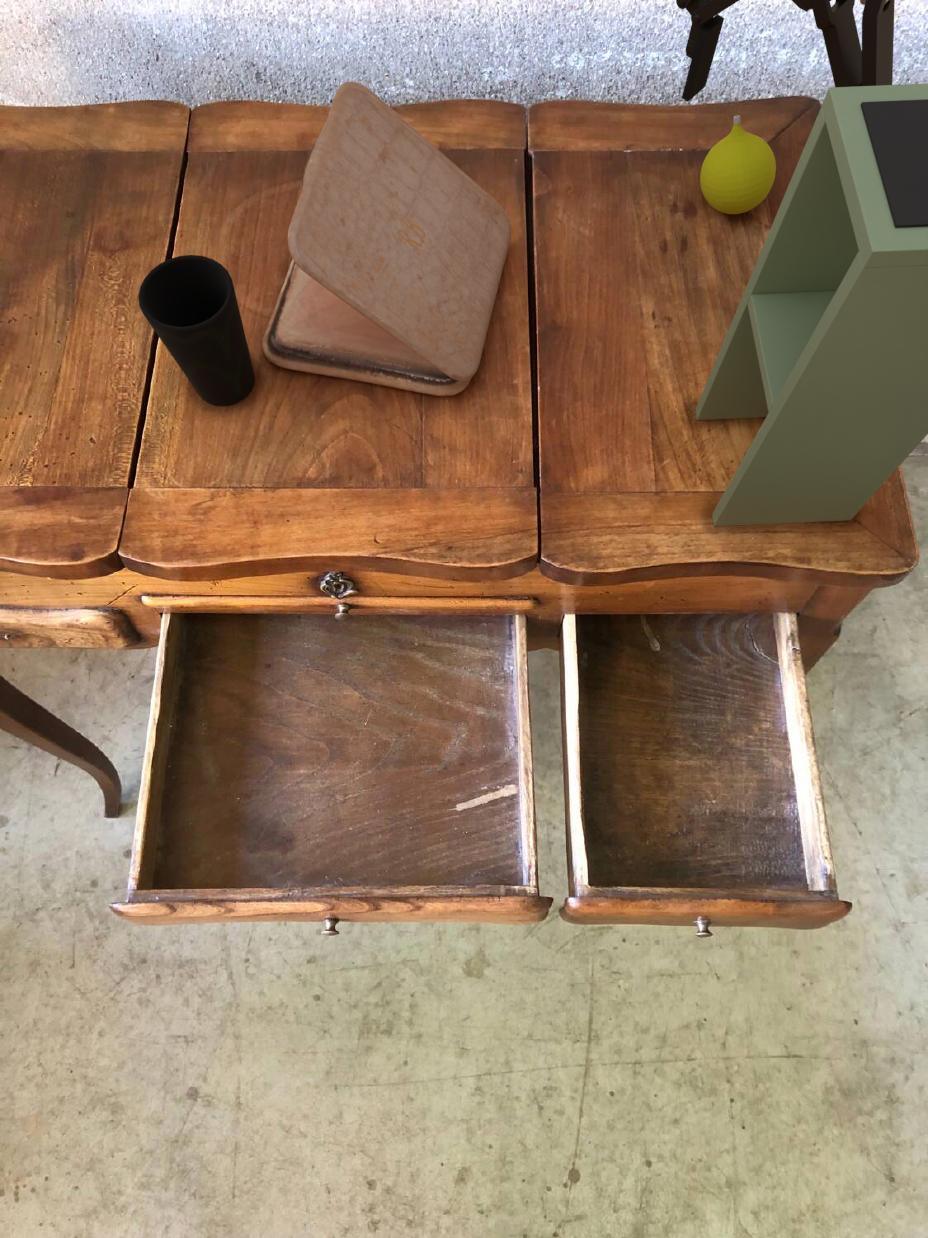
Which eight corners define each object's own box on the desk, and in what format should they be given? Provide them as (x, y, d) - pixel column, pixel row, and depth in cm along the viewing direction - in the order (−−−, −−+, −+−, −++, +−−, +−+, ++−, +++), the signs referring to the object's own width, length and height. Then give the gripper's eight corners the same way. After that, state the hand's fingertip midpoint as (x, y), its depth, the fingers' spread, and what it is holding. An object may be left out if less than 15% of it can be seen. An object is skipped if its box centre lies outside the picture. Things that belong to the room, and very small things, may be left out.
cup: (262, 416, 80) (227, 330, 68) (179, 415, 80) (131, 329, 69) (269, 347, 82) (237, 253, 71) (190, 347, 82) (145, 253, 71)
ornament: (692, 174, 89) (718, 84, 80) (761, 178, 89) (795, 89, 80) (692, 227, 87) (718, 141, 78) (763, 232, 87) (798, 146, 77)
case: (472, 408, 80) (471, 284, 65) (255, 367, 82) (206, 237, 66) (516, 238, 87) (525, 91, 72) (315, 204, 88) (283, 54, 73)
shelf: (824, 403, 79) (1039, 74, 49) (850, 520, 75) (1102, 238, 45) (694, 409, 79) (830, 83, 49) (713, 526, 75) (874, 248, 45)
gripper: (670, -189, 62) (621, 84, 82) (973, -32, 56) (842, 221, 76) (732, -236, 64) (670, 42, 84) (1032, -88, 58) (889, 173, 78)
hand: (752, 128), depth 80 cm, fingers open, 13 cm apart
